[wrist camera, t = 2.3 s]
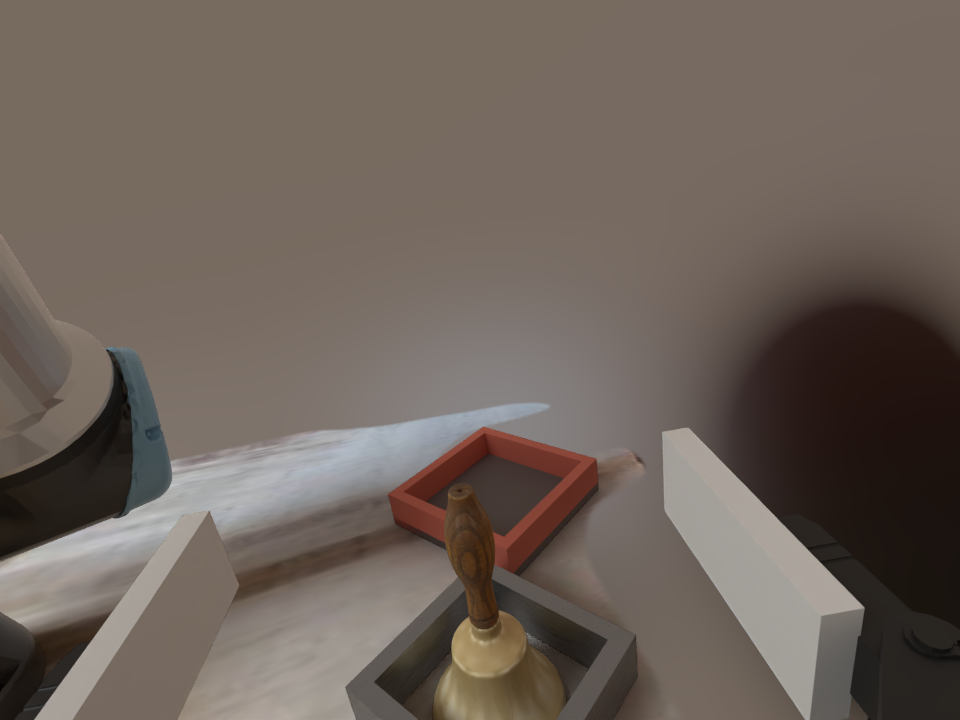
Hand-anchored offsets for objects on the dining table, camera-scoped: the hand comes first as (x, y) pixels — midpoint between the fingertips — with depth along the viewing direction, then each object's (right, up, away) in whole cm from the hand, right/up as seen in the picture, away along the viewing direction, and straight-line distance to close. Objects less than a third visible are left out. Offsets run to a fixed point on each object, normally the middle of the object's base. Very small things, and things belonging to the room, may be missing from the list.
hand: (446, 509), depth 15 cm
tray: (+3, -10, +35) cm, 36 cm away
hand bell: (+2, -17, +17) cm, 24 cm away
